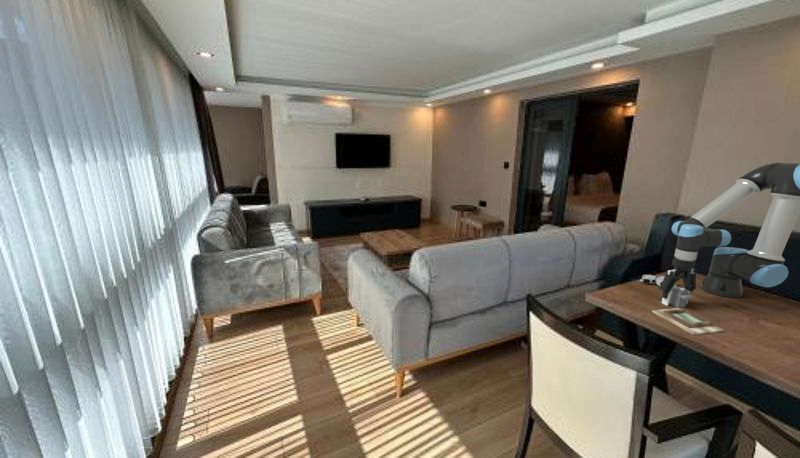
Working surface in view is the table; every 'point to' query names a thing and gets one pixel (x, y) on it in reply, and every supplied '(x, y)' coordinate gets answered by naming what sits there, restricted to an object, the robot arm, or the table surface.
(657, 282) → the robot toy
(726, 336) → the table surface
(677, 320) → the pocket board
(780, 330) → the table surface
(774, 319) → the table surface
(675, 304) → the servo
